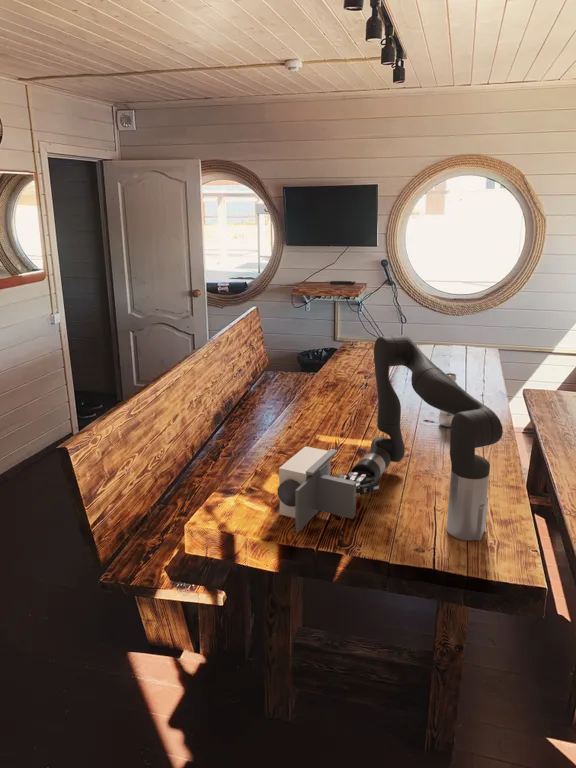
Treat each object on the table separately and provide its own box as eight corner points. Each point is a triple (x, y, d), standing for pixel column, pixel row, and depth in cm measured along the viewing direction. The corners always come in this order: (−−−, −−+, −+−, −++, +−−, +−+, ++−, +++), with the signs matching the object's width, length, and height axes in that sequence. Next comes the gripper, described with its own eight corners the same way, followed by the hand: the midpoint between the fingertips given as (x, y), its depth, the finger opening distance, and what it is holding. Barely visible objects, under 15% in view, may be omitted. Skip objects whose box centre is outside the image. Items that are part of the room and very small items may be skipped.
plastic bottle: (455, 429, 224) (460, 377, 217) (437, 427, 226) (440, 376, 219) (457, 423, 229) (461, 372, 223) (438, 421, 231) (442, 371, 225)
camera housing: (336, 497, 176) (337, 450, 172) (309, 526, 161) (309, 475, 157) (305, 489, 181) (305, 443, 176) (276, 517, 166) (275, 468, 161)
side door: (355, 518, 163) (356, 478, 159) (335, 543, 152) (336, 500, 148) (317, 509, 168) (317, 469, 164) (295, 531, 157) (295, 490, 153)
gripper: (347, 454, 179) (323, 478, 164) (391, 462, 173) (369, 488, 158) (347, 477, 181) (323, 502, 166) (390, 486, 175) (368, 514, 161)
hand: (345, 495), depth 162 cm, fingers closed
